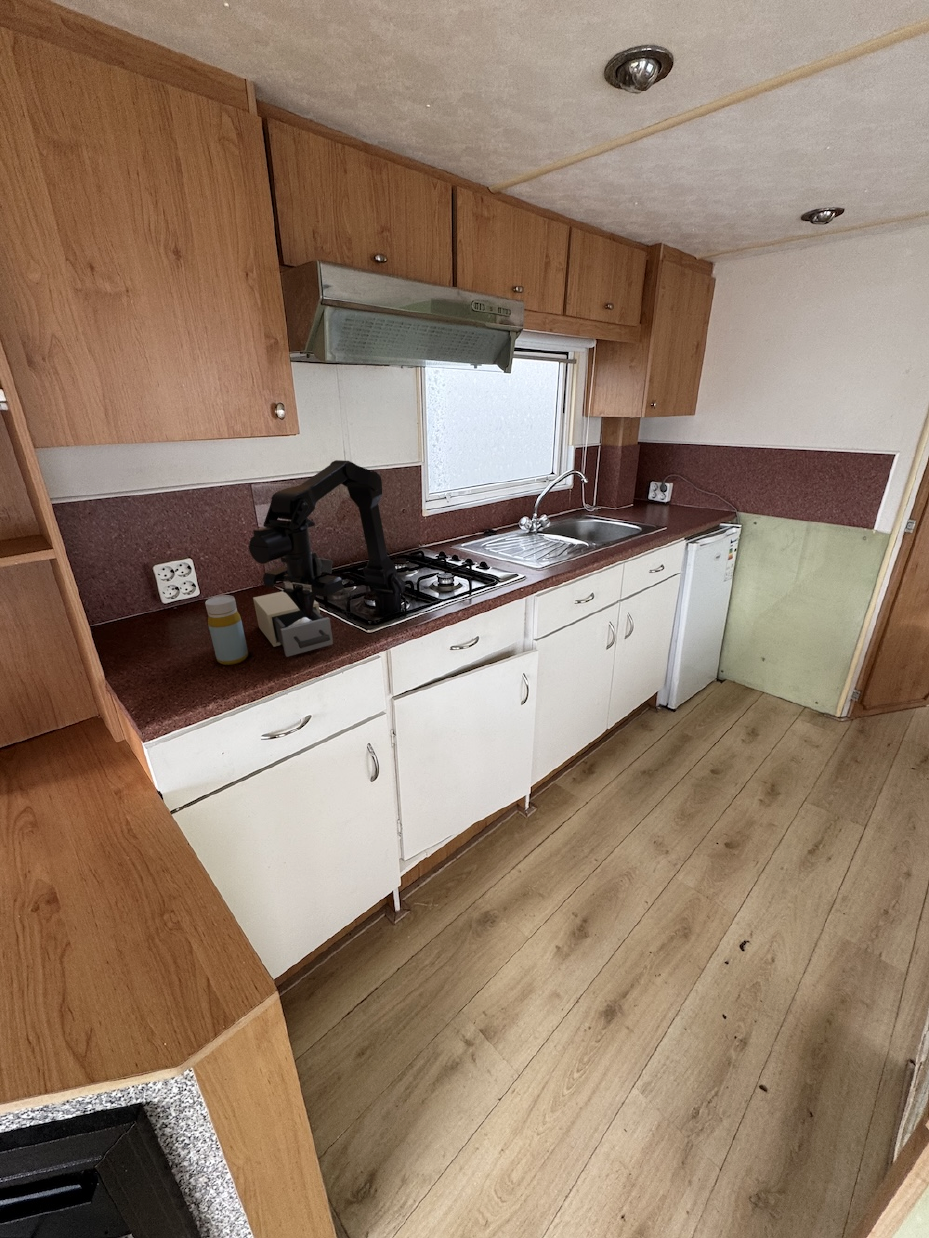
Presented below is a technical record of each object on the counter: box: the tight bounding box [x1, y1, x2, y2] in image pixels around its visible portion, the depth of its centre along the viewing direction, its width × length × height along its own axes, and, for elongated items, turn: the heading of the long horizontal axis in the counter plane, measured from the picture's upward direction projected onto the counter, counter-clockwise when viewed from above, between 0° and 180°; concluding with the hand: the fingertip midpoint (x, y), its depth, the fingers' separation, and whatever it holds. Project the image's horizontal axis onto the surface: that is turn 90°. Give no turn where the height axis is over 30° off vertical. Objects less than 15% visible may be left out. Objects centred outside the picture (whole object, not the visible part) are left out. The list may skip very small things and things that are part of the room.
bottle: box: [204, 594, 249, 666], centre depth 124 cm, size 7×7×15 cm
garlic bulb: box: [288, 617, 312, 627], centre depth 131 cm, size 6×6×5 cm
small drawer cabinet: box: [252, 590, 321, 648], centre depth 139 cm, size 15×13×9 cm
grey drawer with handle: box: [272, 608, 334, 658], centre depth 130 cm, size 19×11×7 cm, turn 33°
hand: (308, 616), depth 122 cm, fingers closed
